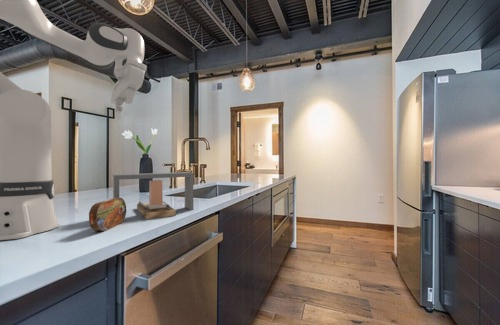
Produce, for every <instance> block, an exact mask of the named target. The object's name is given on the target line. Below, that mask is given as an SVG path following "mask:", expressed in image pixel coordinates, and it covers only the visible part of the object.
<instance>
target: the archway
mask: <svg viewBox="0 0 500 325" xmlns="http://www.w3.org/2000/svg"><path fill="white" fill-rule="evenodd" d="M162 178H163V179H166V178H167V179H168V178H184V208H185V209H187V210H189V211H194V173H193V172H190V171H189V172H185V171H184V172H183V171H182V172H181V171H180V172H156V173H155V172H152V173H151V172H150V173H147V172H146V173H121V174H120V173H118V174H112V196H113V198H120V180H141V179H142V180H143V179H144V180H145V179H162Z"/></svg>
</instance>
